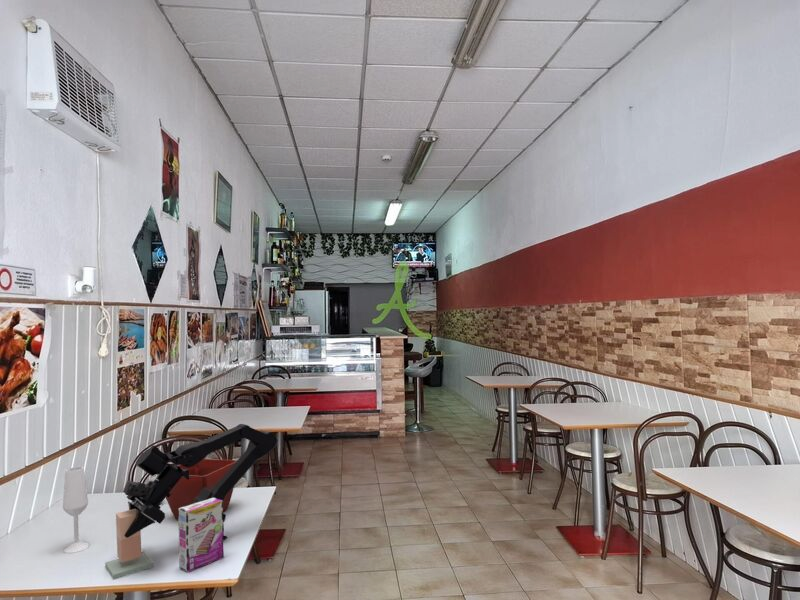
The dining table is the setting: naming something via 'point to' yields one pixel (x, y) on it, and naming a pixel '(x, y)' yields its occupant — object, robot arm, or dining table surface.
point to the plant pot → (199, 483)
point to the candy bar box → (200, 533)
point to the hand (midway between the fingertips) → (123, 534)
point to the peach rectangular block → (132, 544)
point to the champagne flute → (75, 502)
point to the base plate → (128, 566)
